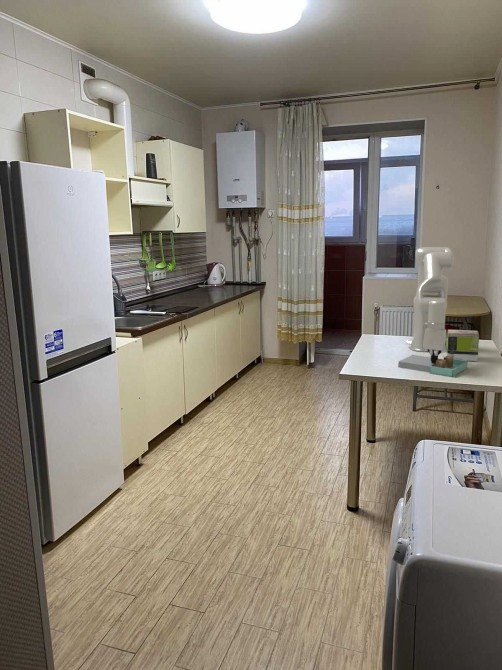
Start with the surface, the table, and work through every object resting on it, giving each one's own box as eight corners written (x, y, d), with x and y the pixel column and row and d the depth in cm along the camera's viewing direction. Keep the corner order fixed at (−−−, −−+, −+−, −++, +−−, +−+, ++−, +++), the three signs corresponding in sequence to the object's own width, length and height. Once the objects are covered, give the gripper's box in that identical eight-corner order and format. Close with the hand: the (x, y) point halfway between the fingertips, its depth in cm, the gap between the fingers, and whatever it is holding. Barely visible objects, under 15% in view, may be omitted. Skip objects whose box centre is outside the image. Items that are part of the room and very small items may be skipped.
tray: (429, 373, 246) (429, 366, 246) (444, 364, 261) (445, 357, 260) (452, 377, 239) (453, 369, 239) (467, 368, 254) (467, 361, 253)
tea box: (476, 357, 274) (478, 330, 272) (477, 362, 265) (479, 333, 262) (446, 355, 279) (447, 328, 276) (446, 360, 270) (448, 332, 267)
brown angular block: (443, 357, 253) (449, 358, 251) (447, 355, 257) (453, 356, 255) (443, 367, 254) (449, 368, 252) (446, 365, 258) (452, 366, 256)
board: (398, 367, 258) (398, 361, 257) (412, 360, 271) (412, 354, 270) (429, 372, 248) (430, 366, 247) (442, 365, 260) (443, 359, 260)
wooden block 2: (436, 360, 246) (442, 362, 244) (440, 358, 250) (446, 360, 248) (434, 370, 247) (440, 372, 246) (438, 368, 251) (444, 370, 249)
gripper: (417, 325, 248) (416, 362, 252) (449, 329, 239) (446, 367, 242) (424, 323, 254) (422, 359, 257) (454, 326, 244) (452, 363, 248)
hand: (434, 363), depth 250 cm, fingers closed
